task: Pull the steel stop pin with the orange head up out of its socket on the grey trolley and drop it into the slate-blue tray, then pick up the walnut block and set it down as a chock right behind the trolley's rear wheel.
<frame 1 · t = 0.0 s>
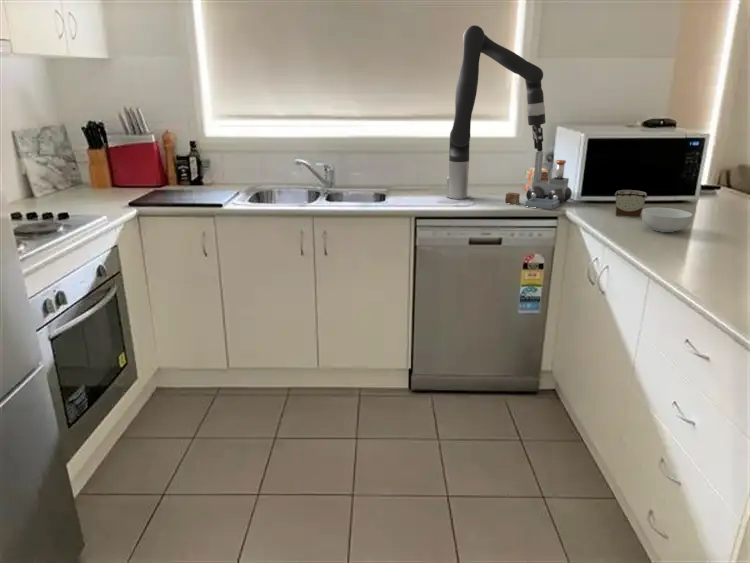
hand: (538, 149, 266), 22 cm above the table, tool pointing down, fingers open, 8 cm apart
stack of blocks: (534, 193, 286), on the table
chock: (512, 203, 263), on the table
cereal bowl: (664, 230, 216), on the table
trolley: (548, 202, 265), on the table
tray: (542, 206, 256), on the table
food container: (627, 215, 239), on the table
stop pin: (558, 183, 260), point 9 cm above the table, touching trolley
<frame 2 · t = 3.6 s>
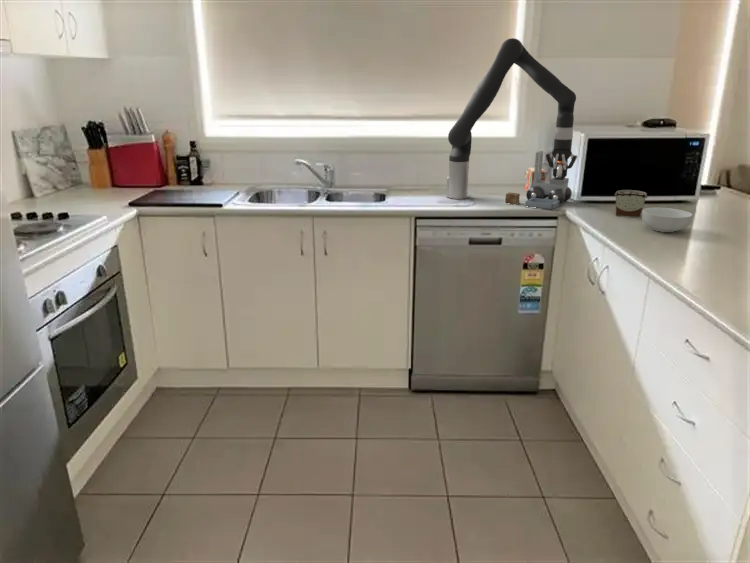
hand: (559, 177, 259), 12 cm above the table, tool pointing down, fingers closed on stop pin, 3 cm apart
stop pin: (558, 183, 260), point 9 cm above the table, touching gripper, trolley
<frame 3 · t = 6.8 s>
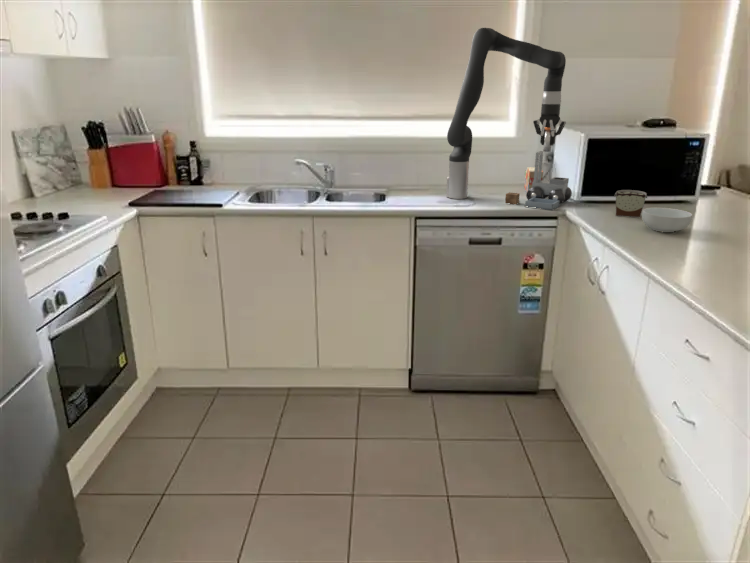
hand: (547, 144, 247), 27 cm above the table, tool pointing down, fingers closed on stop pin, 3 cm apart
stop pin: (546, 151, 248), point 24 cm above the table, touching gripper
when the fingers open (5 cm above the table, at t = 10.3 s): stop pin drops 1 cm, resting on tray.
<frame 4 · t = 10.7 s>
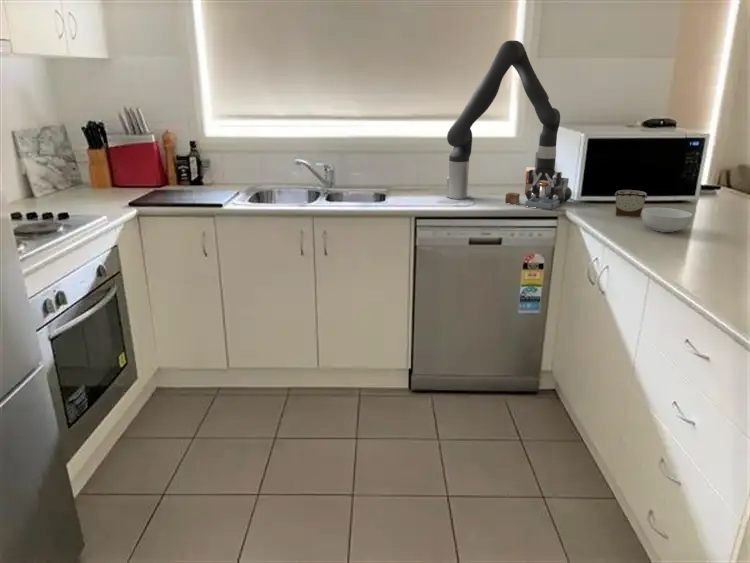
hand: (543, 194, 254), 5 cm above the table, tool pointing down, fingers open, 7 cm apart
stop pin: (541, 205, 256), point 1 cm above the table, touching tray
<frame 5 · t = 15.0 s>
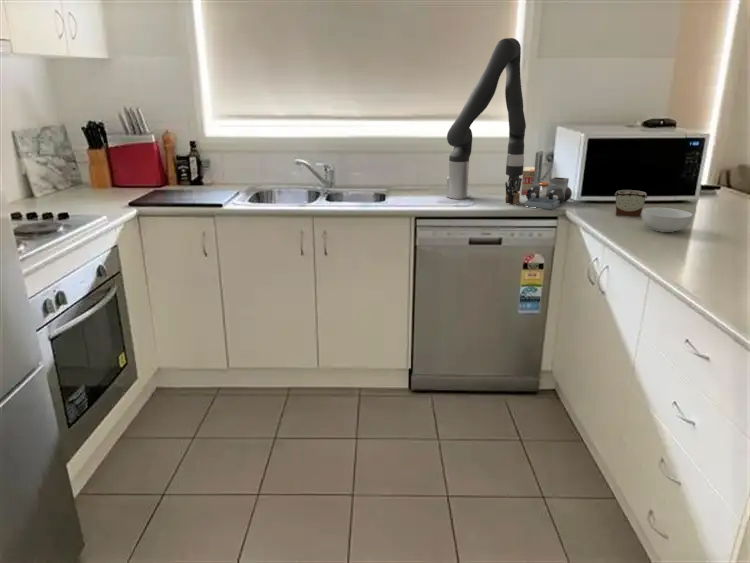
hand: (512, 202, 263), 0 cm above the table, tool pointing down, fingers closed on chock, 4 cm apart
chock: (512, 203, 263), on the table, touching gripper
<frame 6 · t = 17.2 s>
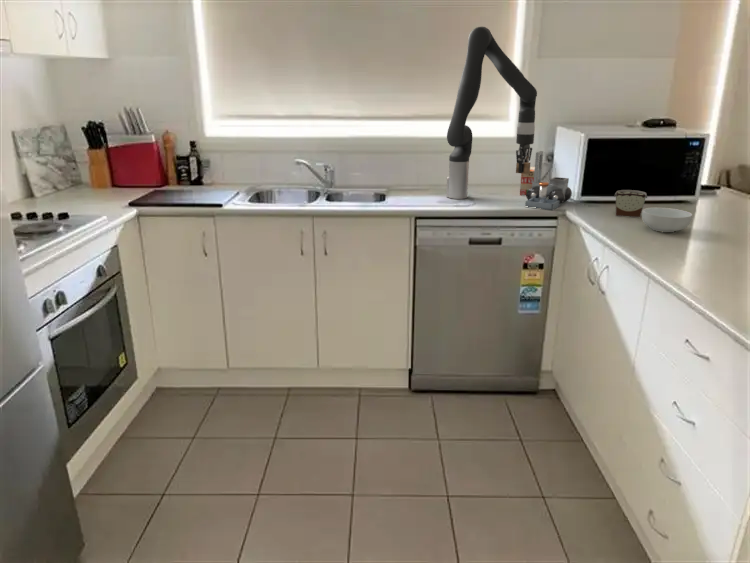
hand: (522, 171, 263), 14 cm above the table, tool pointing down, fingers closed on chock, 4 cm apart
chock: (522, 172, 263), point 13 cm above the table, touching gripper
when the fingers open (2 cm above the table, at t = 19.5 s): chock drops 2 cm, on the table.
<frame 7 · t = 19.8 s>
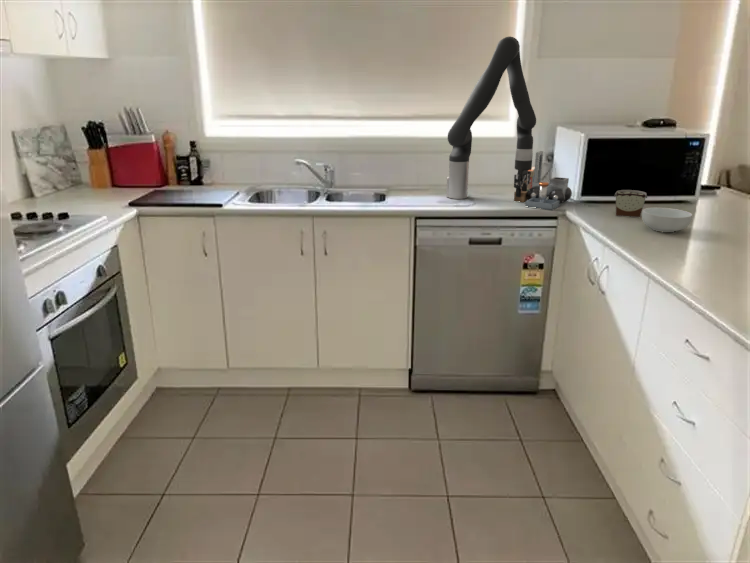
hand: (521, 195, 266), 3 cm above the table, tool pointing down, fingers open, 6 cm apart
chock: (520, 201, 267), on the table
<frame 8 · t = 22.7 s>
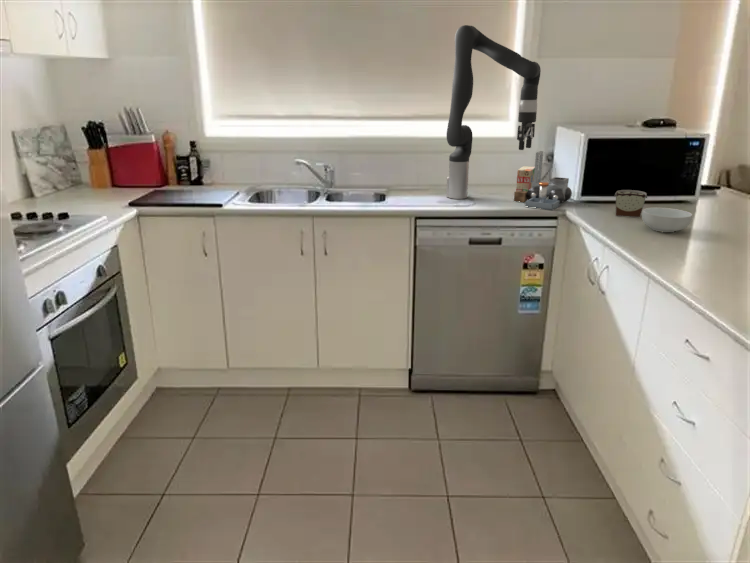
hand: (524, 148, 256), 24 cm above the table, tool pointing down, fingers open, 8 cm apart
at the end: stop pin inside the target area on the tray (0.2 cm from its centre), point 0.6 cm above the tray's base; chock 0.1 cm from the target spot, on the table; the gripper is holding nothing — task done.
